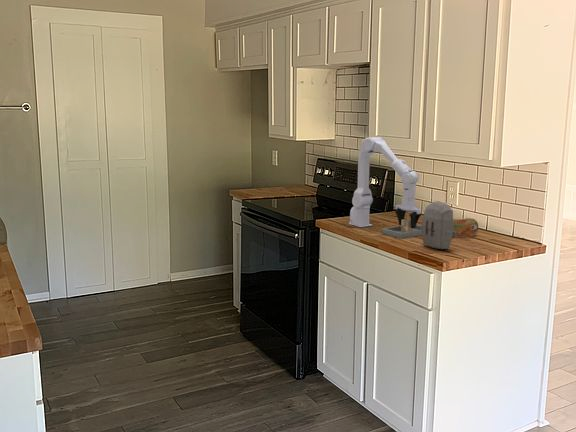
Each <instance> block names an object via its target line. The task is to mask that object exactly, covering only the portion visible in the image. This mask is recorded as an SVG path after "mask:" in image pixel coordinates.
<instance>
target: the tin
mask: <svg viewBox="0 0 576 432" xmlns="http://www.w3.org/2000/svg"><path fill="white" fill-rule="evenodd" d="M478 231H479V223H478V221H477V220H476V219H474V218H467V217H466V218H453V234H452V238H470V237H474V236H475V235H476V234H478V233H477V232H478Z"/></svg>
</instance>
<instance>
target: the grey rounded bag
mask: <svg viewBox="0 0 576 432" xmlns="http://www.w3.org/2000/svg"><path fill="white" fill-rule="evenodd" d="M453 219H454V211H453V209H452V208H451V206H450V205H449V204H448V203H446V202H443V201H439V200H437V201H435V200H434V201H432V202H430V203H429V204H428V205H427V206H426V207H425V209H424V213H423V215H422V223H421V224H420V226H421V234H422V235H421V237H422V242H423V244H424V245H425V246H428V247H430V248H432V249H437V250H447V249H449V248H450V246H451V243H452V240H453V236H452V234H453Z"/></svg>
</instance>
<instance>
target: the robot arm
mask: <svg viewBox="0 0 576 432" xmlns="http://www.w3.org/2000/svg"><path fill="white" fill-rule="evenodd" d="M360 145H361V146H360V147H359V150H358V162H357V164H358V165H357V188H356V189H355V190H354V192H353V197H352V200H351V202H352V205H353V206H352V207H351V209H350V212H349V222H348V225H350V226H351V225H352V226H355V227H359V228H366V227H372V226H373V224H371V223H370V208H371V205H372V203H373V201H374V197H373V196H372V191H371V188H370V187H369V186H370V161H371V156H372V155H373V154H374V153H381V155H383V157H384V158H386V159H387V161H389V162H390V163H391V164H392V165H391V168H392V169H393V170H394V171H395V173H396V174H397V175H398V176H399V177H400V182H401V183H402V202H401V204H395V210H394V213H395V215H396V217H397V221H398V226H401V221H402V219H405V217H406V213H407V212H409V219H411V228H415V227H416V225H418V221H419V219H420V217H421V216H422V209H421V208H419V207H416V191H417V190H416V188H417V183H418V181H419V174H418V173H417V171H416V170H412V168H410V167H409V166H408V165H407V164H406V160H403V159H401V158H398V157H397V156H396V154H394V151H392V150H391V148H390V147H389V146H388V145H387V142H386V141H385V140H384V138H382V137H381V136H376V137H375V136H373V137H366V138H364V139H363V140H362V141H361V144H360Z"/></svg>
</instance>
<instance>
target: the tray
mask: <svg viewBox="0 0 576 432" xmlns="http://www.w3.org/2000/svg"><path fill="white" fill-rule="evenodd" d="M381 233H382V234H381V235H386V236H388V237H392V238H396V239H398V240H399V239H400V240H402V239H409V238H414V237H419V236H421V237H422V234H421V224H420V225H419V224H416V227H415V228H414V229H413V231H410V232H404V233H402V232H401V225H396V226H390V227H389V226H388V227H383V228H382V230H381Z"/></svg>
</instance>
